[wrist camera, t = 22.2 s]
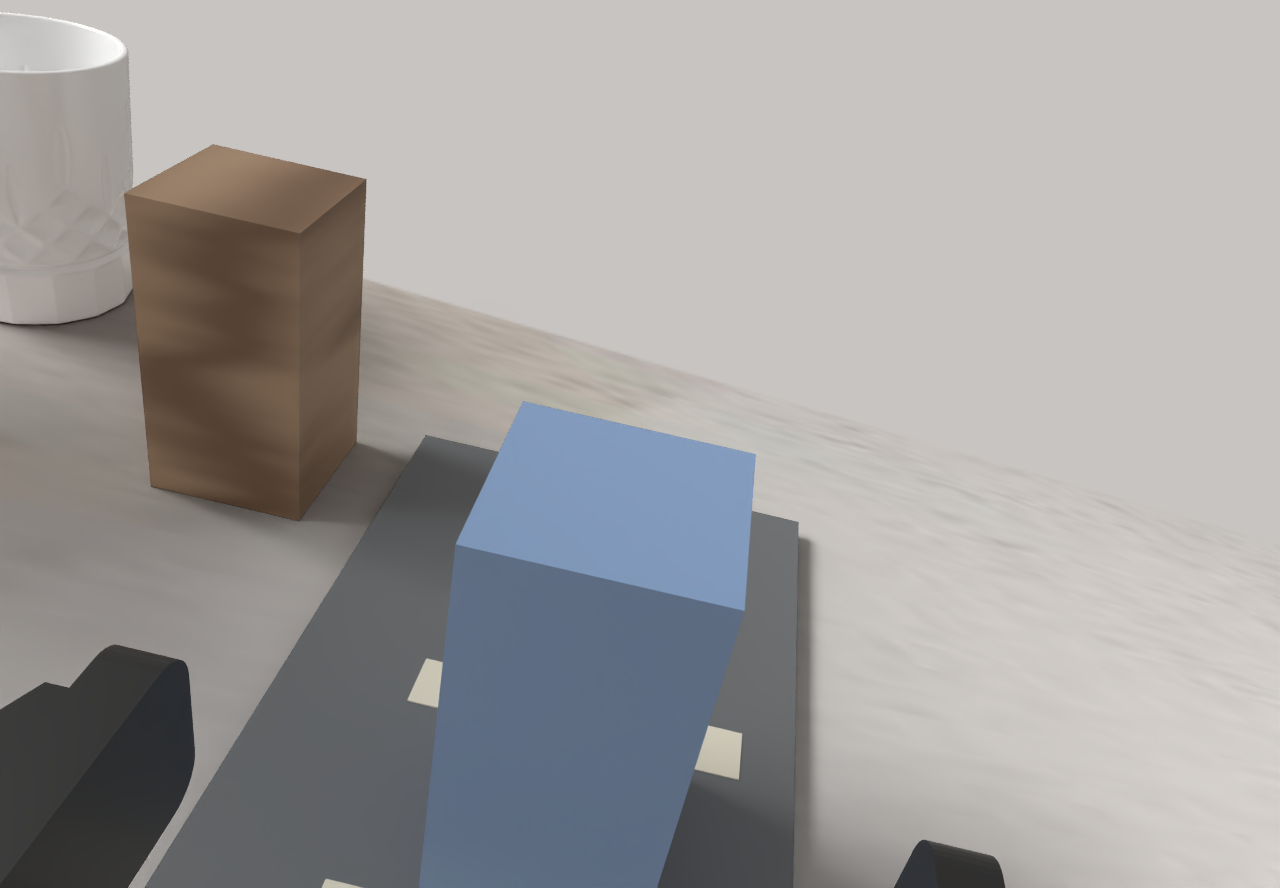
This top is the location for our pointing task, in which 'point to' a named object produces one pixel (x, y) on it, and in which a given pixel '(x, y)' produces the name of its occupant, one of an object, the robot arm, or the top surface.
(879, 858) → the top surface
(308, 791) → the letter mat
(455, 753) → the blue block
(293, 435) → the walnut block
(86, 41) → the white cup
